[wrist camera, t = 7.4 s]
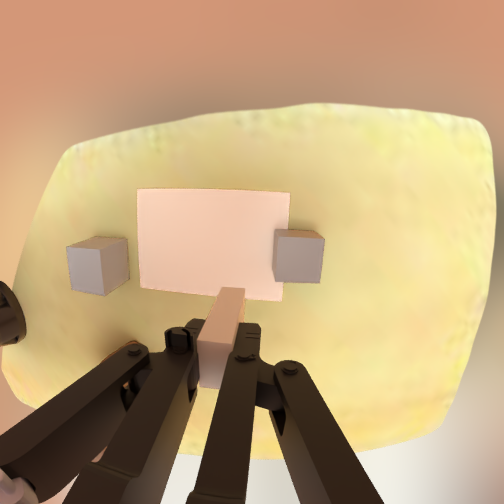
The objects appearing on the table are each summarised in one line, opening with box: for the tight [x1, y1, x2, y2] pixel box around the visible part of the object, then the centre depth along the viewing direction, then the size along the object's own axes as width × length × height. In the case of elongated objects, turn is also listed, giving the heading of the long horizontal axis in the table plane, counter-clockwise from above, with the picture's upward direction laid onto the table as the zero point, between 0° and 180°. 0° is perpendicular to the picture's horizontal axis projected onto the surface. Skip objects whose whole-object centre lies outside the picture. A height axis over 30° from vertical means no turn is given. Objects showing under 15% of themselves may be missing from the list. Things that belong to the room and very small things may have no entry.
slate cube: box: [66, 237, 130, 296], centre depth 34 cm, size 6×6×7 cm
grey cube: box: [272, 229, 325, 283], centre depth 32 cm, size 5×5×5 cm
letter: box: [137, 188, 290, 302], centre depth 35 cm, size 20×14×1 cm
